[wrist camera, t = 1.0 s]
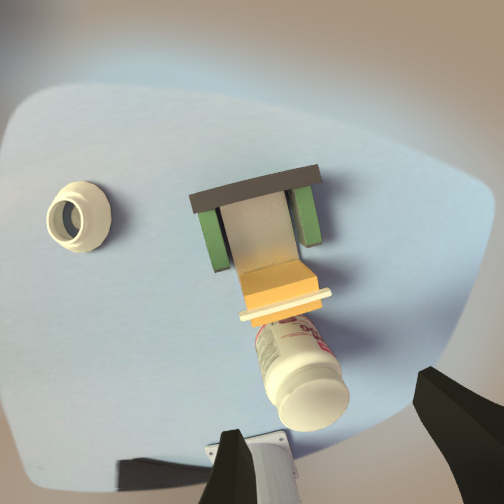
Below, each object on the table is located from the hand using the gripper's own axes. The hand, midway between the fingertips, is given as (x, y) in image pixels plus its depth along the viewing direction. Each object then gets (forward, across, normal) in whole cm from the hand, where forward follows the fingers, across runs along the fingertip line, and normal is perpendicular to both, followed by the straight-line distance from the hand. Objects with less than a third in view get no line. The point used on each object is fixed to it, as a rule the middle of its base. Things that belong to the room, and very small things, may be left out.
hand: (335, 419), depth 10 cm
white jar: (+13, +13, -8) cm, 20 cm away
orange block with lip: (+12, +1, -1) cm, 12 cm away
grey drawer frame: (+13, +1, -4) cm, 13 cm away
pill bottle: (+12, +1, +4) cm, 13 cm away
